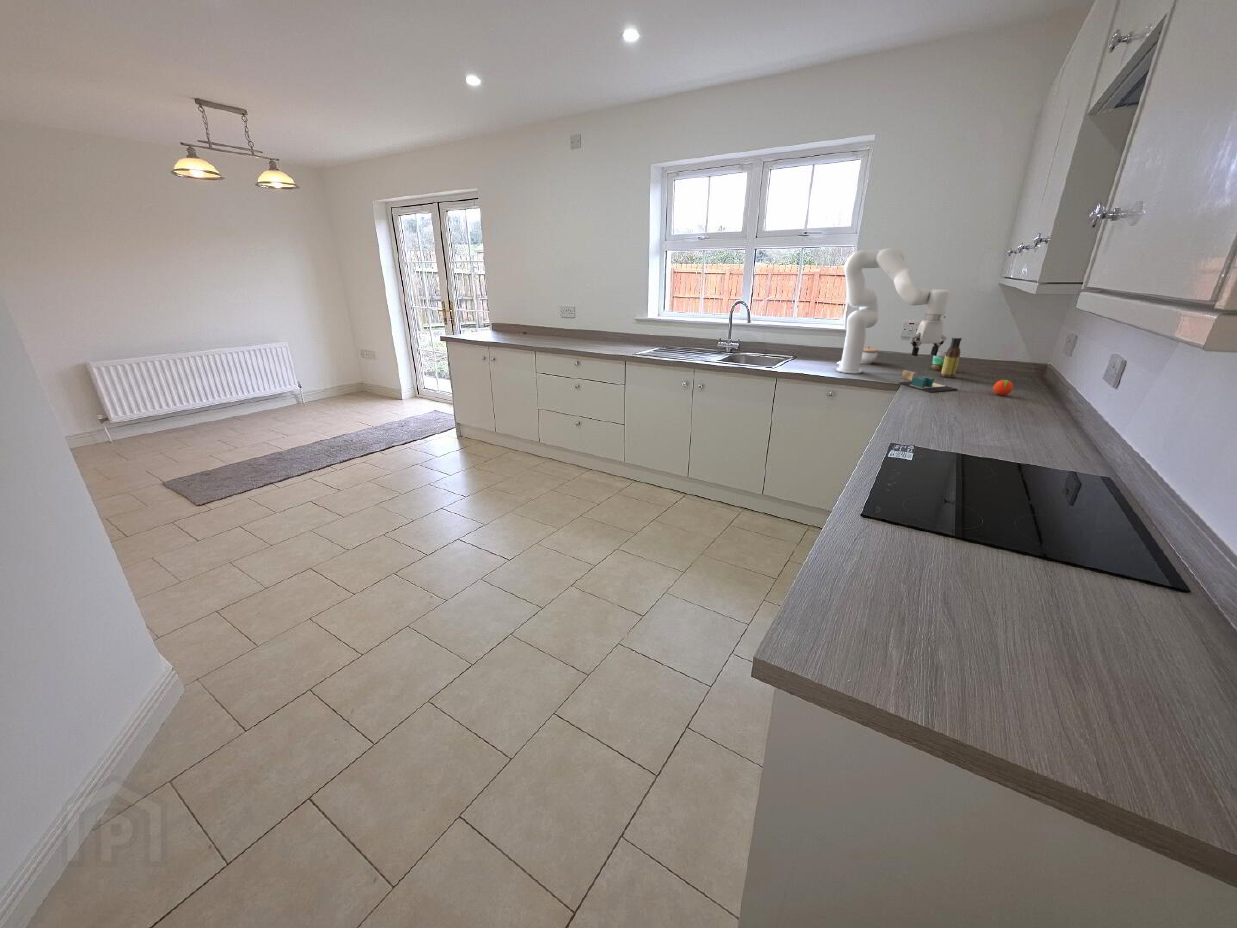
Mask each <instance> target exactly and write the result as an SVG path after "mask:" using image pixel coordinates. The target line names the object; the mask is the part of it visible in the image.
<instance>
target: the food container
mask: <svg viewBox="0 0 1237 928" xmlns="http://www.w3.org/2000/svg"><path fill="white" fill-rule="evenodd" d="M946 352H947V351H938V352H937V355H936V356H933V355H932V364H931V370H933V371H936V372H942V367H943V363H944V359H945V355H946Z"/></svg>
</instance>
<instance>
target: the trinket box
mask: <svg viewBox="0 0 1237 928" xmlns="http://www.w3.org/2000/svg"><path fill="white" fill-rule="evenodd" d="M878 353H879V349H877V348H874V347H870V345H868V346H867V347H864V349H863V353H862V358H861V363H860V364H867V365H870V364H872V363H873V362H874V361H875V360H876V359H877V357H878Z"/></svg>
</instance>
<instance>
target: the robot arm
mask: <svg viewBox="0 0 1237 928" xmlns="http://www.w3.org/2000/svg"><path fill="white" fill-rule="evenodd" d="M863 269H882V270H883V272H884V273H885V274H886V275H887V276H888V277H889V278H890V280H891V281H892V282H893V285H894V288H895V291H896V292H897V294H898V296H899V297H900V298H901V299H902V300H903V301H904V302H905V303H906V304H908V305H910V306H924V305H926V309H925V312H924V317H923V320H921V321H920V323H919V325H918V328H917V330H916V332H915V335H912V336H911V337H910V338H909V340H910V344H911V346H912V351H911V356H914V357H918V355H919V351H920V346H921V345H922V344H933V346H932V348H931V351H930V355H931V356H932V357H933V356H936V355H937V352H939V349H940V348H941V346H942V345H943V344H944V343H945V342H946V340H947V336H945V335H943V332H944V319H945V318H946V311H947V307H948V304H949V299H950V295H951V291H950V290H949V289H945V288H944V289H943V288H931V287H918V286H917V285H916V283H914V282H913V280H912V279H911V276H910V273H911V271H912V268H911V266H909V264H908V263H907V262H906V261H905V253H904V251H903V250H902V249H901V248H897V247H886V248H884V249H859V250H856V251H855V252H853V253H851V254H850V255H849V256H848V258H847V259H846V262H845V264H844V277H845V283H846V284H845V285H846V295H847V303H848V305H849V306H850V307H851V308H855V309H856V310H855V311H852V312H851V313H849V315H848V317H847V318H846V332H845V339H844V345H843V350H842V356H841V360H839V361H837V362H836V365H838V367H836V371H837V372H839V373H843V374H851V375H852V374H853V375H854V374H855V375H856V374H862V373H863V369H861V368H860V367H861V364H862V363H861V358H862V353H863V349H864V348H865V344H866V337H867V334H866V333H867V332H866V329H869V328H870V329H871V328H872V327H875V325H876V324H877V323H878V321H879V307H878V295H877V293H876V291H875V290H874V289H873V288H871V287H866V280H865V275H864V273H863ZM857 308H858V310H857Z"/></svg>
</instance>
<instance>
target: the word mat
mask: <svg viewBox="0 0 1237 928" xmlns="http://www.w3.org/2000/svg"><path fill="white" fill-rule="evenodd" d="M898 384H899V385H903V386H906V387H910V388H913V389H916V390H920V391H924V392H927V393H932V394H933V393H942V392H951V391H958V388H955V387H951V386H948V385H943V384H940V383H936V382H933V384H932V387H926V386H925V387H924V388H920V387H916V386H913V385H911V384H912V381H900V382H898Z"/></svg>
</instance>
